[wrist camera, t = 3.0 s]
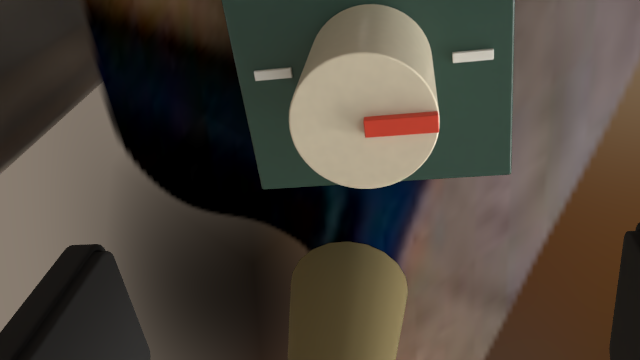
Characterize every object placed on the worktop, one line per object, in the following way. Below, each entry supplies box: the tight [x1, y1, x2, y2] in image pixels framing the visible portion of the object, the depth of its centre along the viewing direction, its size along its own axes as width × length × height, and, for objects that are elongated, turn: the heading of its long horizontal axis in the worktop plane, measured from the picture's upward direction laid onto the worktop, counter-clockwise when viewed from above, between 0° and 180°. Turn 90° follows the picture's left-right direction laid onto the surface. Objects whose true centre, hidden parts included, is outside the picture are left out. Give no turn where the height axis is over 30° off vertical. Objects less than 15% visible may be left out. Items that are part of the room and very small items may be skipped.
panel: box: [222, 0, 515, 189], centre depth 23 cm, size 10×10×3 cm
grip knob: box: [289, 4, 440, 189], centre depth 20 cm, size 4×4×5 cm
